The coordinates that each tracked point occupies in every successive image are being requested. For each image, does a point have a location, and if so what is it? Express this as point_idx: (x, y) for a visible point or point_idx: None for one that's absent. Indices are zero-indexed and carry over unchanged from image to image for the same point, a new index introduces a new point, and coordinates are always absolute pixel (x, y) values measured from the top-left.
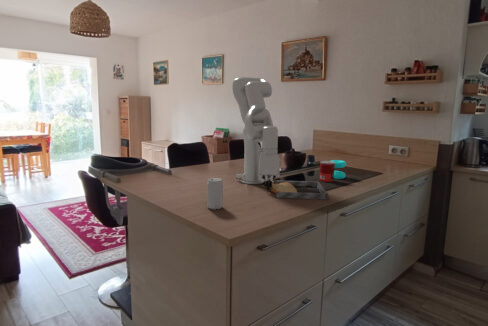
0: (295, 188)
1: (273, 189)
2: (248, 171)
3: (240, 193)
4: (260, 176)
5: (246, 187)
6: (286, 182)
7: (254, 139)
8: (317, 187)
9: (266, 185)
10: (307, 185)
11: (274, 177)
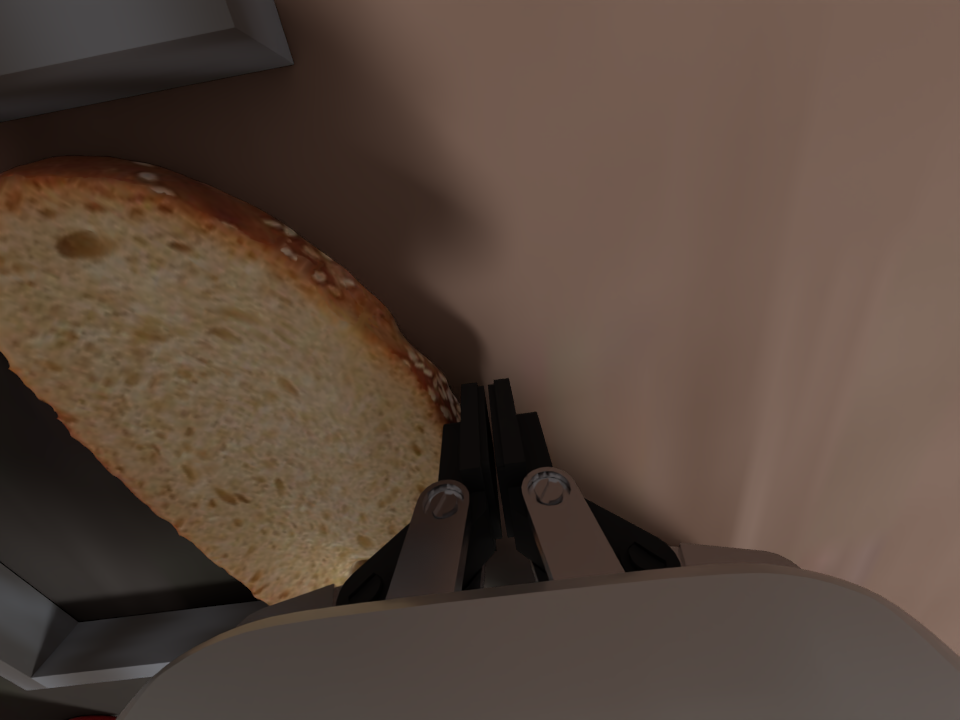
0: (58, 416)
1: (408, 360)
2: None
3: (928, 144)
4: (724, 555)
5: (756, 462)
6: None
7: None
8: (32, 601)
9: (528, 421)
10: (148, 624)
11: (368, 572)
